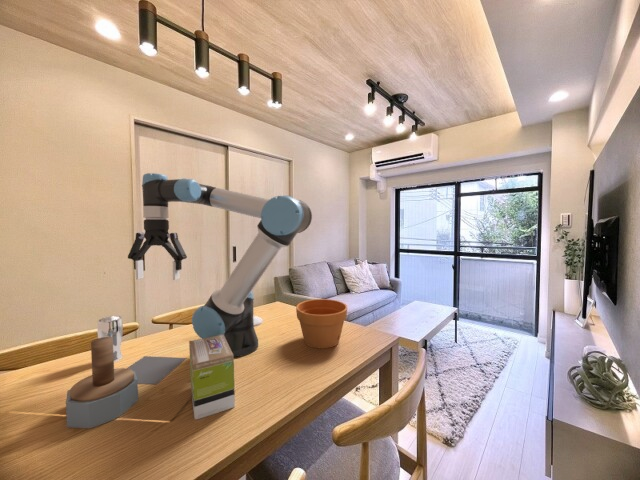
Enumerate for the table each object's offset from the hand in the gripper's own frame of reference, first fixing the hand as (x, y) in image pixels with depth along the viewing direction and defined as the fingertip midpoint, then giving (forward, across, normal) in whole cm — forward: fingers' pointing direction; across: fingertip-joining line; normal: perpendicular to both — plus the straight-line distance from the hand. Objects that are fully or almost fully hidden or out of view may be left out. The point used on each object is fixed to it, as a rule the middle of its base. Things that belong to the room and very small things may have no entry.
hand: (158, 279), depth 94 cm
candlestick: (+29, -20, -37) cm, 51 cm away
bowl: (+29, -3, +26) cm, 39 cm away
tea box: (+29, -29, +20) cm, 46 cm away
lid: (+23, -3, +26) cm, 35 cm away
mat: (+29, -2, +8) cm, 30 cm away
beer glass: (+29, +16, +3) cm, 33 cm away
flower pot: (+29, -57, -19) cm, 67 cm away
